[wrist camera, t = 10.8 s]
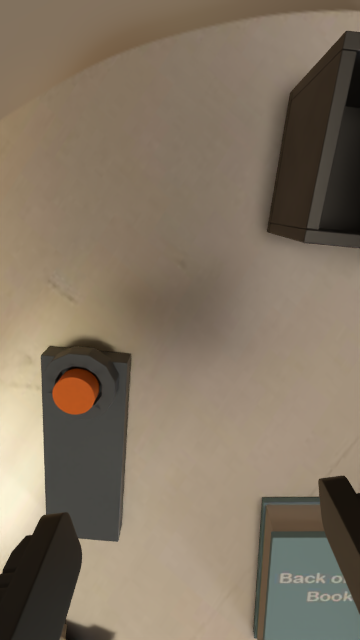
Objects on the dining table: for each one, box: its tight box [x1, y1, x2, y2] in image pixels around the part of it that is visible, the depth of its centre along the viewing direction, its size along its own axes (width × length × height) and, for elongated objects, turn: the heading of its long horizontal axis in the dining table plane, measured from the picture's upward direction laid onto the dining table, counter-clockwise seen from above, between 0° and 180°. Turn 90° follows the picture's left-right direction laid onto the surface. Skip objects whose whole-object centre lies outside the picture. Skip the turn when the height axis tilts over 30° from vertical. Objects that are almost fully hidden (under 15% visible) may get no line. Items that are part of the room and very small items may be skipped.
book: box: [253, 497, 360, 640], centre depth 40 cm, size 23×16×5 cm
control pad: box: [41, 346, 131, 542], centre depth 35 cm, size 23×8×4 cm, turn 175°
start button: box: [52, 368, 99, 415], centre depth 30 cm, size 4×4×2 cm
